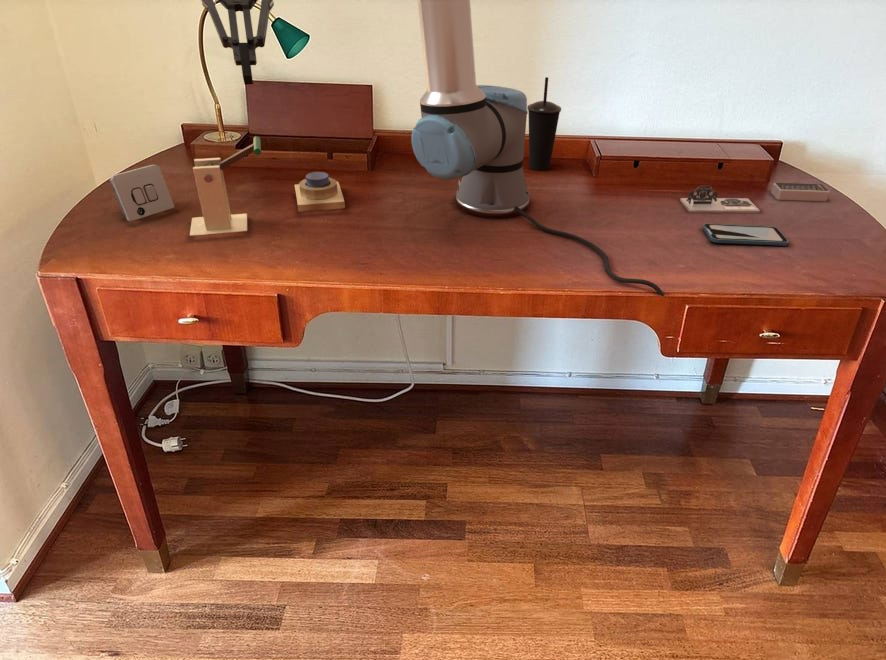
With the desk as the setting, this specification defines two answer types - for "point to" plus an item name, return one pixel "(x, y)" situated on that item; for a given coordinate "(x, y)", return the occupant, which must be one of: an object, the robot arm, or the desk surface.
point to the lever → (240, 154)
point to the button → (317, 179)
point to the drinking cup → (542, 131)
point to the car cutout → (716, 202)
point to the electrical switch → (141, 192)
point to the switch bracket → (214, 202)
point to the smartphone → (745, 234)
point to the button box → (319, 196)
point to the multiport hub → (800, 192)
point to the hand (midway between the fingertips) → (248, 80)
